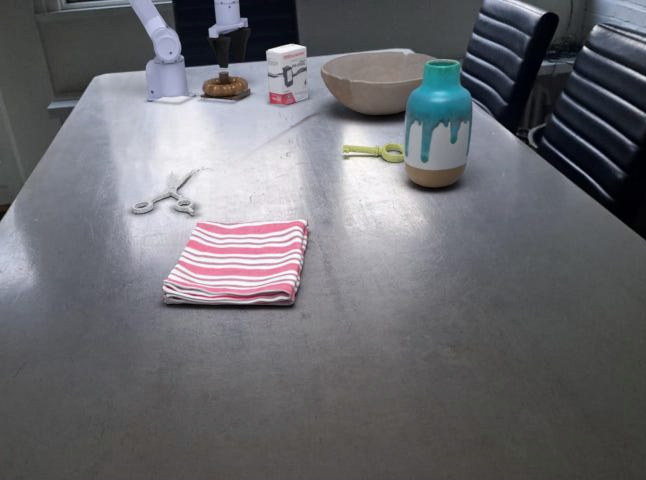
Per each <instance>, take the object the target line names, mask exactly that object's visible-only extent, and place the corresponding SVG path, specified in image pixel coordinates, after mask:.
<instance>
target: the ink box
mask: <svg viewBox="0 0 646 480" xmlns="http://www.w3.org/2000/svg"><path fill="white" fill-rule="evenodd" d="M265 54H266V67H267V68H266V69H267V83H268V95H269V104H271V105H282V106H288V105H291V104H295V103H298V102H302V101H304V100H308V99H309V90H308V89H309V88H308V57H307V54H308V53H307V46H304V45H299V44H295V43H289V44H284V45H280V46H276V47H273V48H269V49H267V50H266V51H265Z"/></svg>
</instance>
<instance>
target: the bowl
mask: <svg viewBox="0 0 646 480" xmlns="http://www.w3.org/2000/svg"><path fill="white" fill-rule="evenodd" d="M436 59H438V58H437V57H434V56H431V55H428V54H424V53H418V52H417V53H416V52H409V53H407V54H405V53H404V52H403V51H377V52H375V51H374V52H360V53H359V52H358V53H353V54H346V55H341V56H338V57H335V58H333V59H331V60H329V61H327V62H325V63H324V64H323V65H321V67H320V77H321V79H322V81H323V83H324V85H325V87H326V88H327V90H328V91H329V93H330V94H331V95H332V96H333V97H334V98H335V99H336V100H337V101H338V102H339V103H341V104H342V105H344V106H345V107H346V108H347V109H350V110H353V111H355V112H357V113H360V114H363V115H368V116H369V115H370V116H388V115H395V114H399V113H403V112H406V107H407V102H408V98H409V96H410V94H411V93H412V92H413V90H415V89H417V88H418V87H420V86H421V84H422V80H423V73H424V65H425V63H426V62H427V61H430V60H436Z"/></svg>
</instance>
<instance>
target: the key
mask: <svg viewBox="0 0 646 480" xmlns="http://www.w3.org/2000/svg"><path fill="white" fill-rule="evenodd" d="M388 151H397V152H399V153H401V154H393V153H389V152H388ZM342 153H343V154H345V153H346V154H350V153H354V154H355V153H357V154H369V155H374V156H375V157H378V156H381V158H382V159H384V161H387V162H390V163H391V162H392V163H400V162H404V145H402V144H399V143H395V142H388V143H385V144H383V145H382V147H380V146H379V145H376V146H363V145H353V144H352V145H351V144H342Z"/></svg>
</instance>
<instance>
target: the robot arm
mask: <svg viewBox="0 0 646 480" xmlns="http://www.w3.org/2000/svg"><path fill="white" fill-rule="evenodd" d="M213 1H214V13H215V22H216V23H215V24H214V25H212V26H211V27H209V28H208V36H207V37H206V38H207V43H208V44H209V45H210V47H211V48H212V50H213V53H214V55H215V58H216V61H217V65H218V67H219V68H220V69H229V64H230V62H229V61H230V59H229V58H230V57H229V56H230V55H229V54H230V53H229V51H230V45H232V48H233V56H234V60H235V62H244V61H245V57H246V50H247V44H248V41H249V38H250V36H251V33H252V32H251V31H252V30H251V28H248V27H249V23H248V18H247V17H241V14H240V0H213ZM127 2H128V3H129V5H130V6H131V8H132V10H133V11H134V13H135V14H136V16H137V17H138V19H139V20H140V21H139V22H141V24H142V25H143V28H144V29H145V31H146V33H147V35H148V37H149V38H150V40H151V41H152V44H153V50H154V53H155V57H154V58H153V59H150V60H149V61H147V63H146V66H145V79H146V86H147V91H148V92H147V93H148V97H147V101H150V102H155V101H157V100H160V99H162V98H179V97H188V98H189V97H191V98H193V97H195V96H196V95H197V93H196V92H189V87H188V86H189V85H188V79H187V78H188V77H187V71H186V65H185V57H184V55H182V53H181V52H182V44H181V41H180V37H179V35H178V33H177V32H176V30H174V29H173V28H172V27H170V26H169V25H168V24H167V23H166V21H165V20H164V18H163V17H162V15H161V14H160V13H159V11H158V9H157V8H156V6H155V4H154V3H153V1H152V0H127ZM225 34H229V35H228V36H225Z"/></svg>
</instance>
